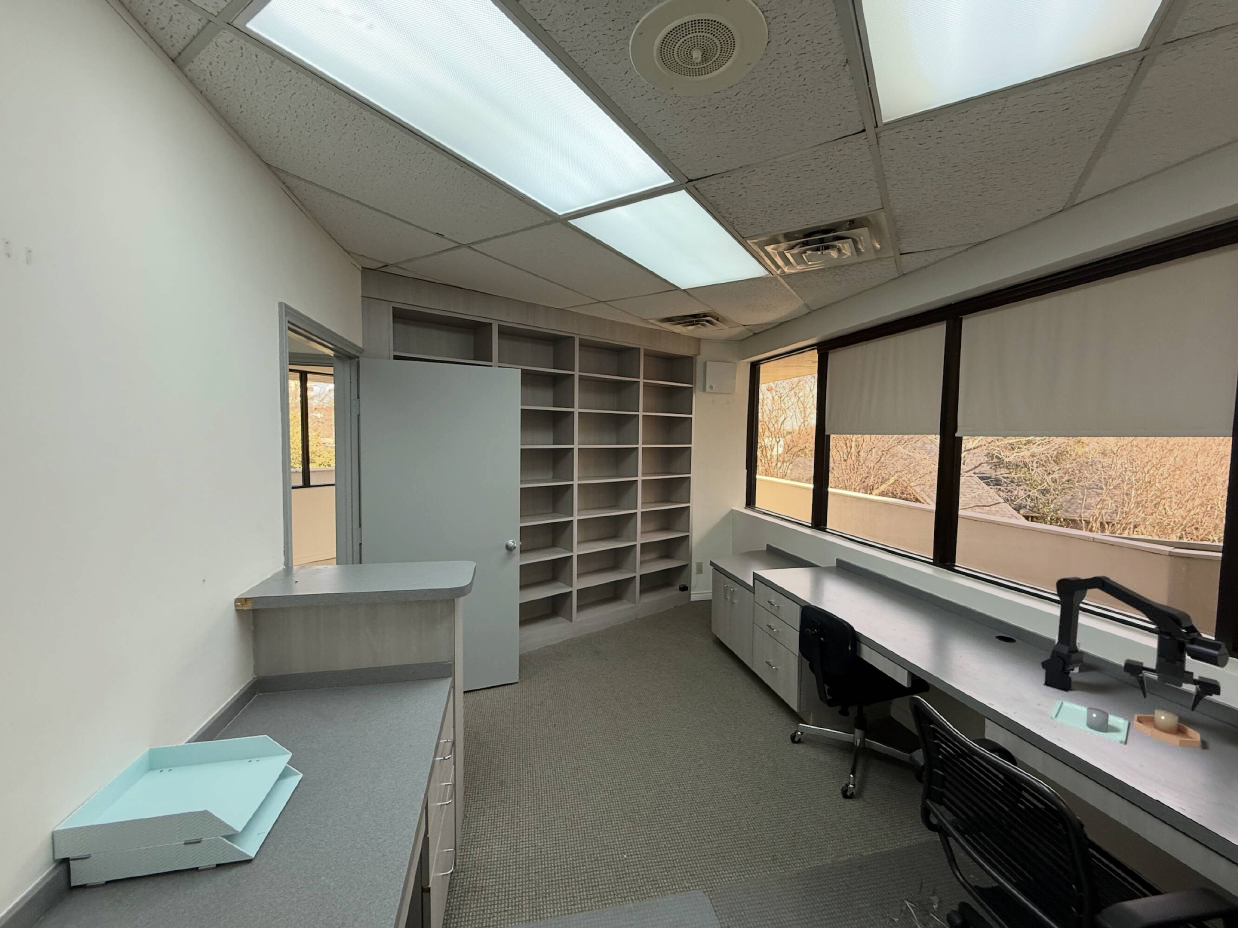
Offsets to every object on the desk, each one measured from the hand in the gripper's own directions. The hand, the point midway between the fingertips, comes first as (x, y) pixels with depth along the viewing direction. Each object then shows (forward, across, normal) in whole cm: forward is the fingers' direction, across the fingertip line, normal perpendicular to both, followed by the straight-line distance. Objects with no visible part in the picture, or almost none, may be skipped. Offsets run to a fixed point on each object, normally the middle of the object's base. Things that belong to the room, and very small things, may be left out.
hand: (1168, 704), depth 143 cm
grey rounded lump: (+8, -14, -15) cm, 22 cm away
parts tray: (+8, -16, -11) cm, 21 cm away
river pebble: (+8, 0, 0) cm, 8 cm away
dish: (+8, 0, -2) cm, 9 cm away
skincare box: (+9, -26, +33) cm, 42 cm away
